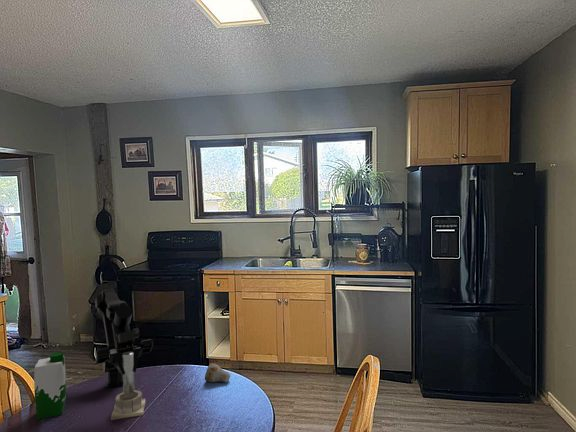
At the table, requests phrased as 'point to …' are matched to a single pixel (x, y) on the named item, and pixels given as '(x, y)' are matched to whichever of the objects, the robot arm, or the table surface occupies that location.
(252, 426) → the table surface
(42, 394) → the milk carton
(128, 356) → the grey glossy cylinder
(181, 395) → the table surface
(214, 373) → the flower patterned bottle
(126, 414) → the cup bracket
